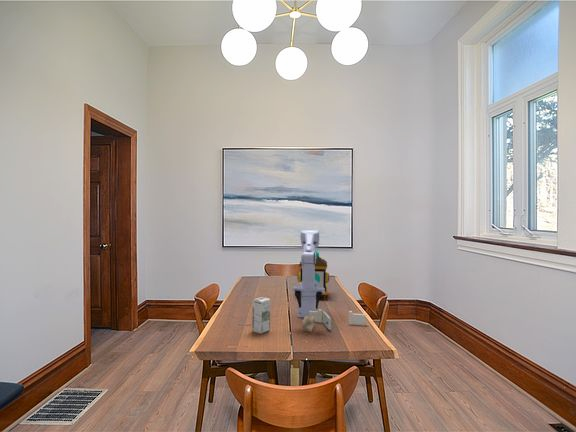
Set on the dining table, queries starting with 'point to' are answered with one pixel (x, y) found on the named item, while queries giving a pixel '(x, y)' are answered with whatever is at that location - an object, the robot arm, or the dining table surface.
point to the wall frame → (353, 318)
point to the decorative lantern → (318, 273)
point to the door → (326, 320)
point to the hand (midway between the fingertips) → (308, 307)
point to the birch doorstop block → (308, 323)
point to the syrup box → (261, 315)
